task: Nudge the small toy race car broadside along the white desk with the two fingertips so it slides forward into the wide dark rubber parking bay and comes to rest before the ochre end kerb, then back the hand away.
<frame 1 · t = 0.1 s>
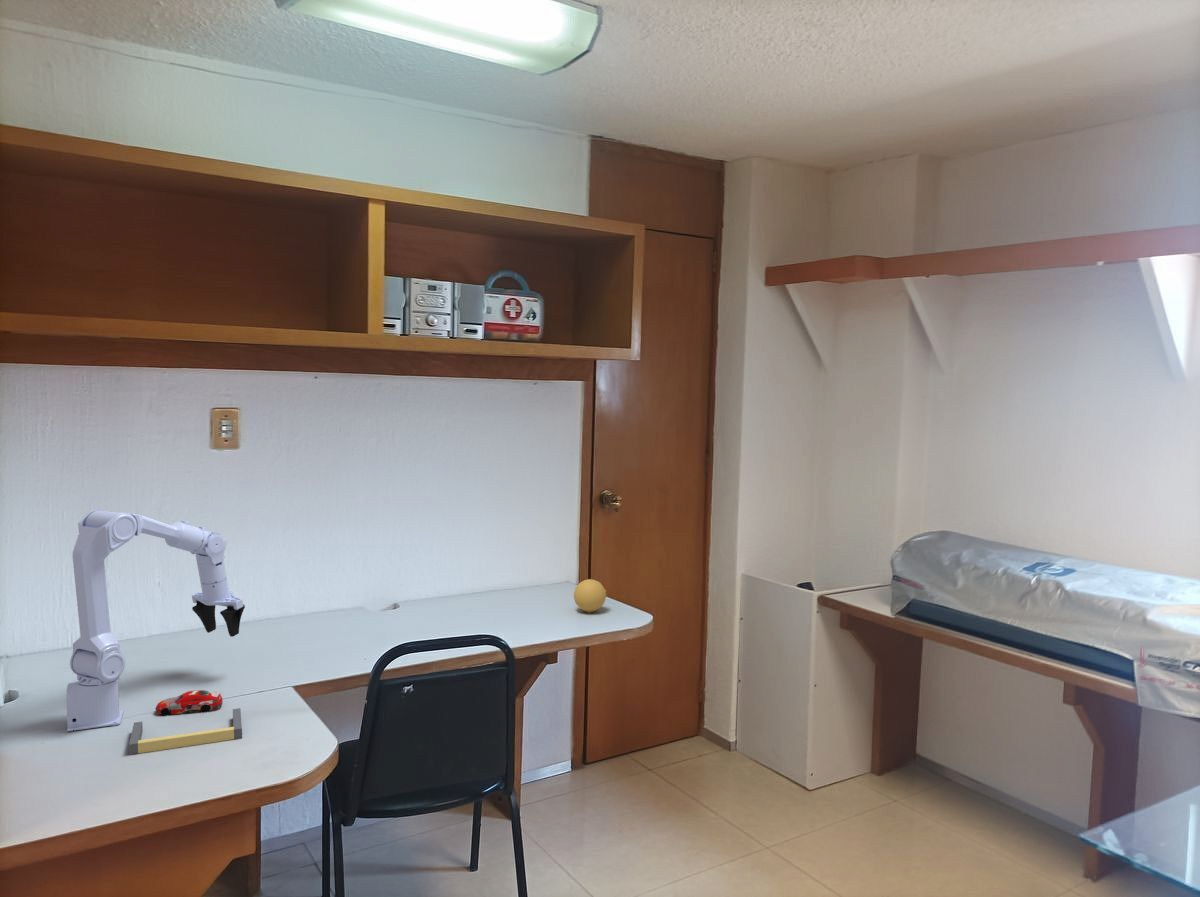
hand: (222, 632, 211), 10 cm above the table, tool pointing down, fingers open, 7 cm apart
race car: (189, 711, 191), on the table
stress ball: (590, 612, 271), on the table
parking bay: (187, 735, 177), on the table
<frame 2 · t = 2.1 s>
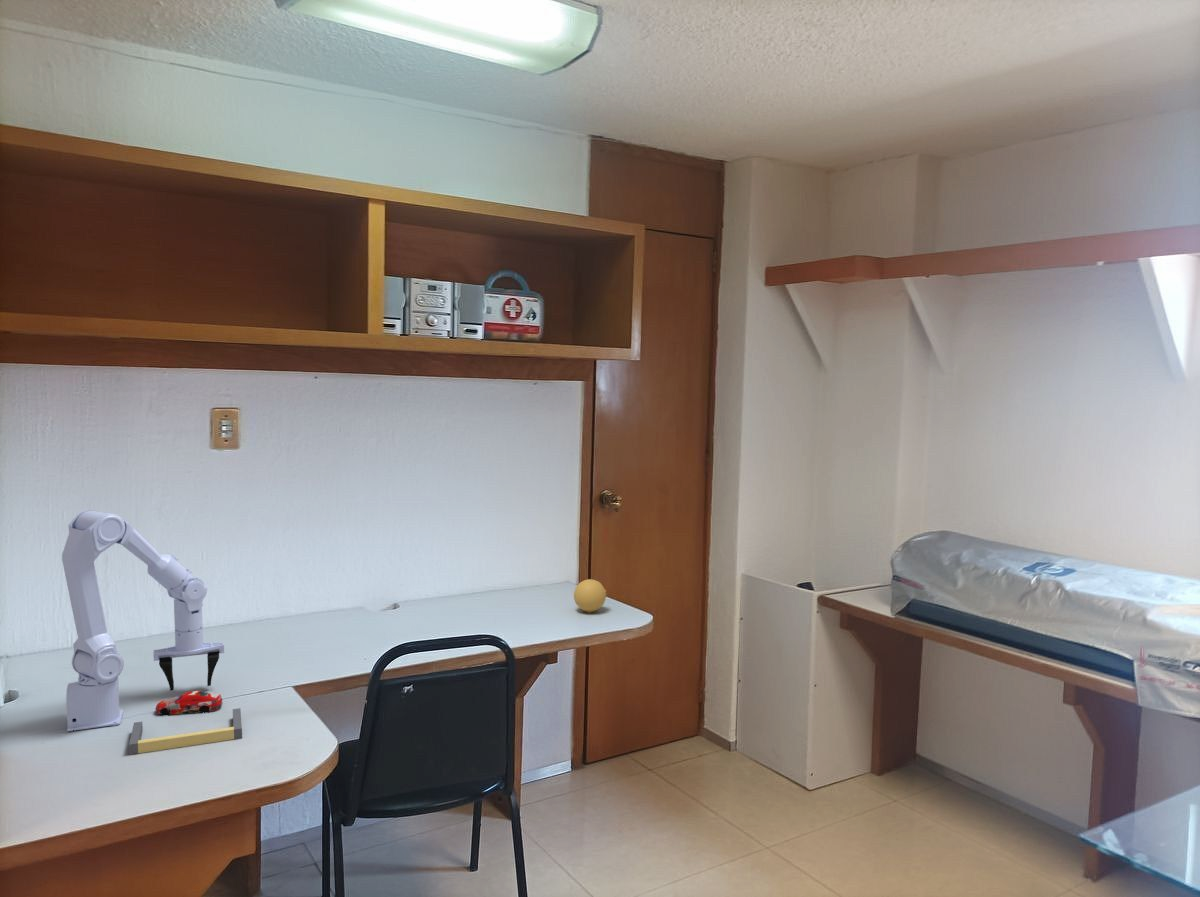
hand: (190, 686, 200), 1 cm above the table, tool pointing down, fingers open, 7 cm apart
nothing on the table moved.
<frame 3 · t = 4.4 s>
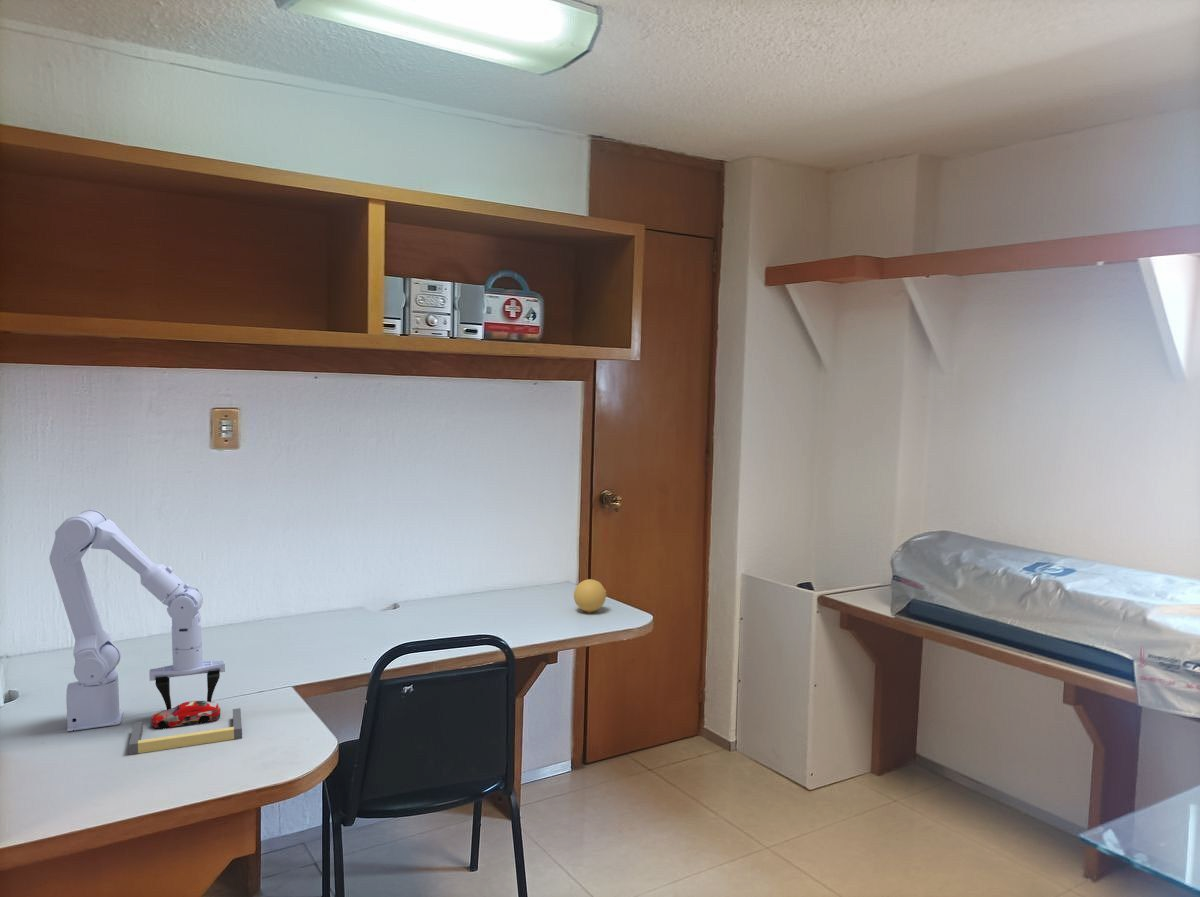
hand: (189, 708, 188), 1 cm above the table, tool pointing down, fingers open, 7 cm apart
race car: (186, 723, 184), on the table
everything else where it was.
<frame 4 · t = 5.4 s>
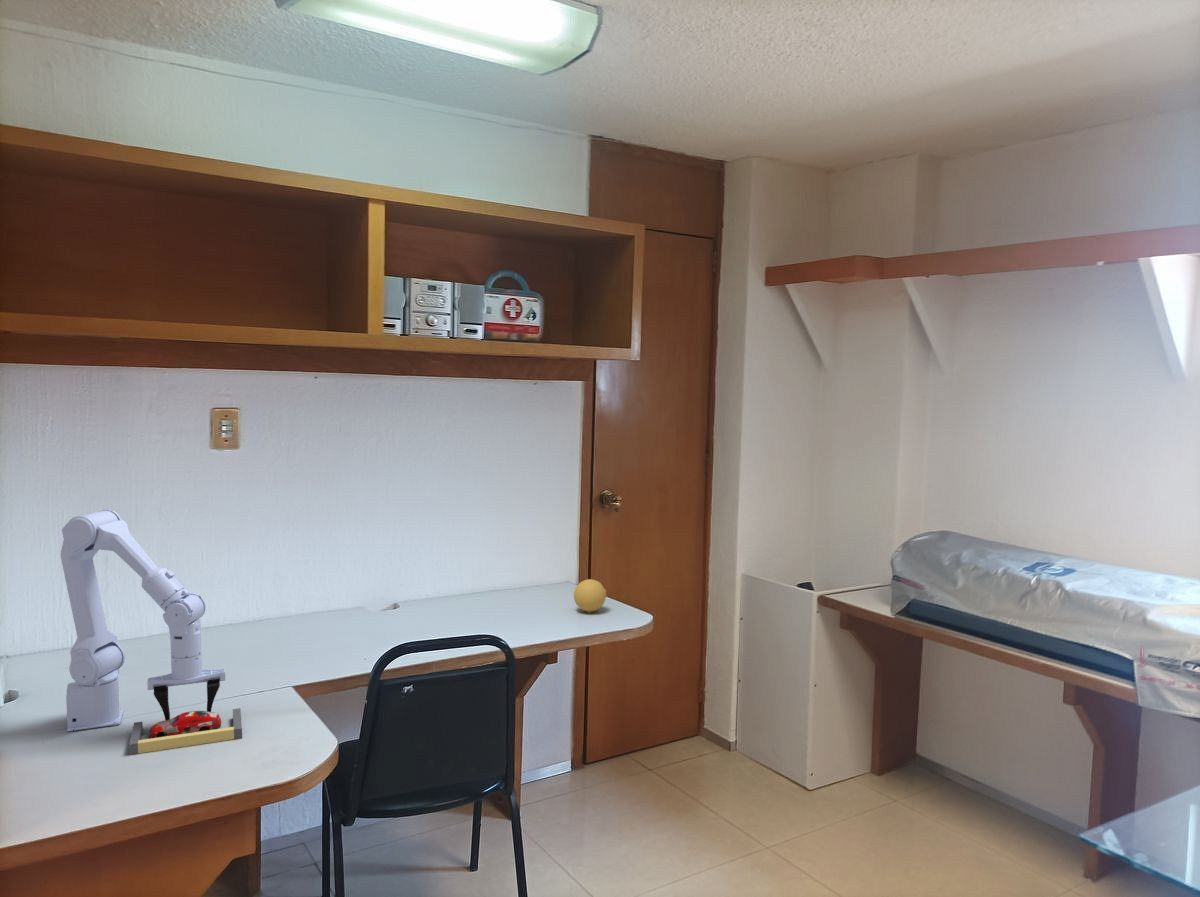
hand: (188, 718, 182), 1 cm above the table, tool pointing down, fingers open, 7 cm apart
race car: (186, 734, 179), on the table
everything else where it was.
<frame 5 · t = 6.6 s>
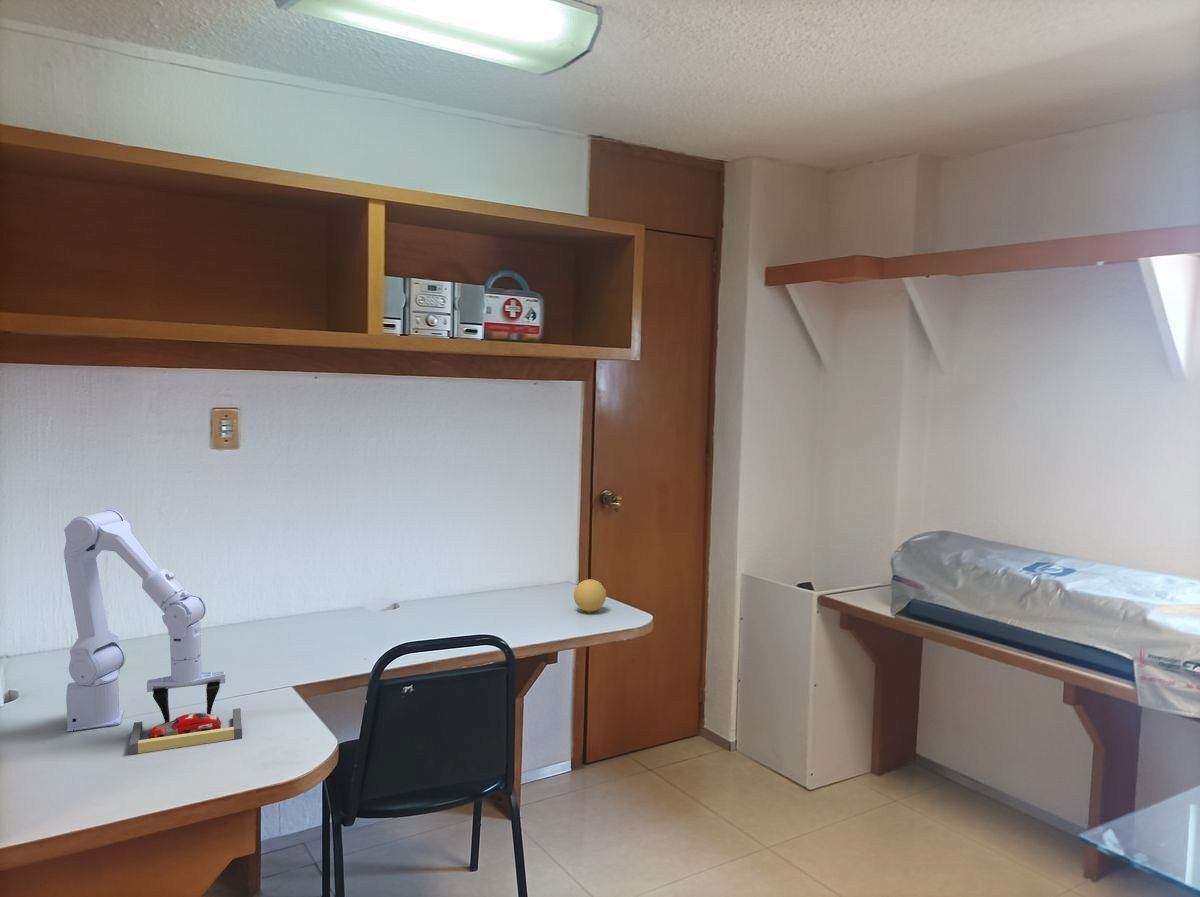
hand: (188, 720, 181), 1 cm above the table, tool pointing down, fingers open, 7 cm apart
race car: (185, 736, 177), on the table
everything else where it was.
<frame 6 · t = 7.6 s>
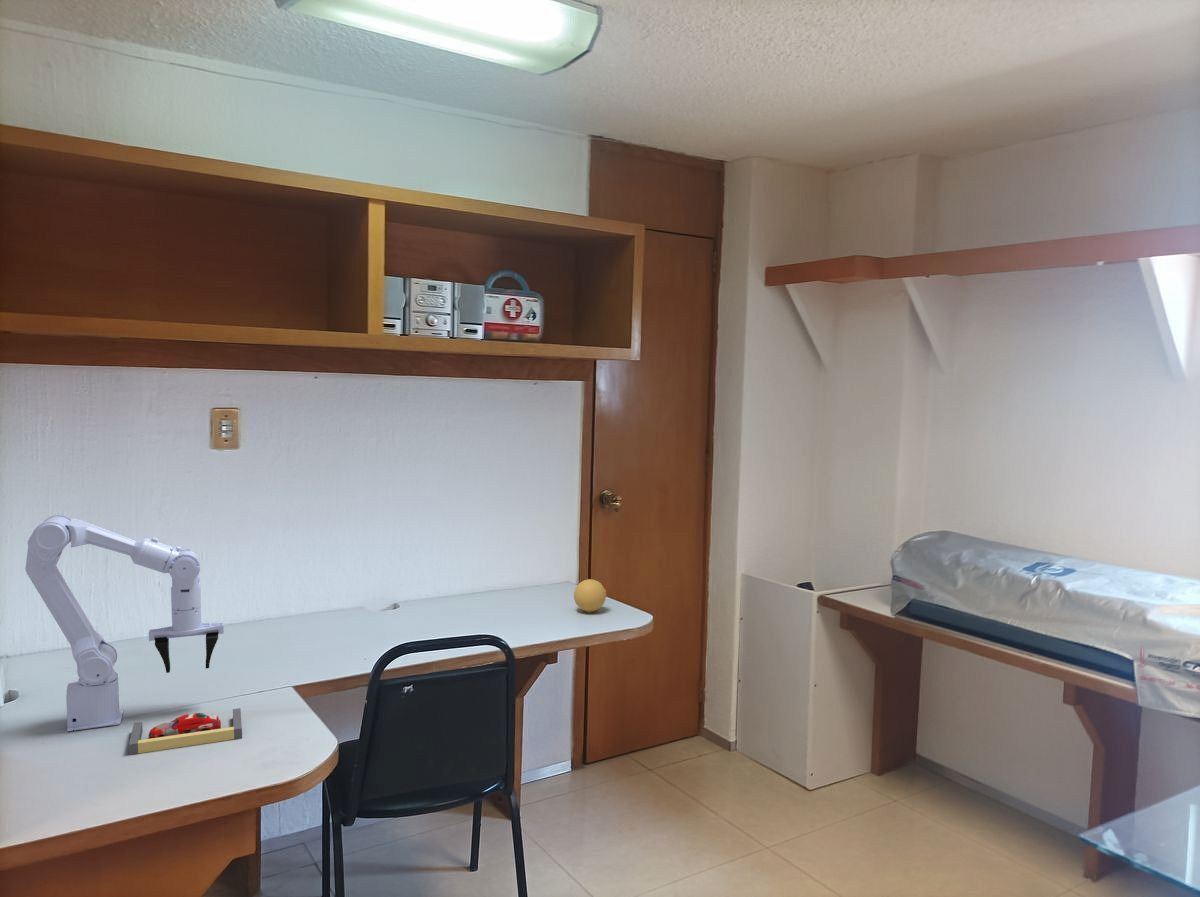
hand: (188, 669, 190), 9 cm above the table, tool pointing down, fingers open, 7 cm apart
nothing on the table moved.
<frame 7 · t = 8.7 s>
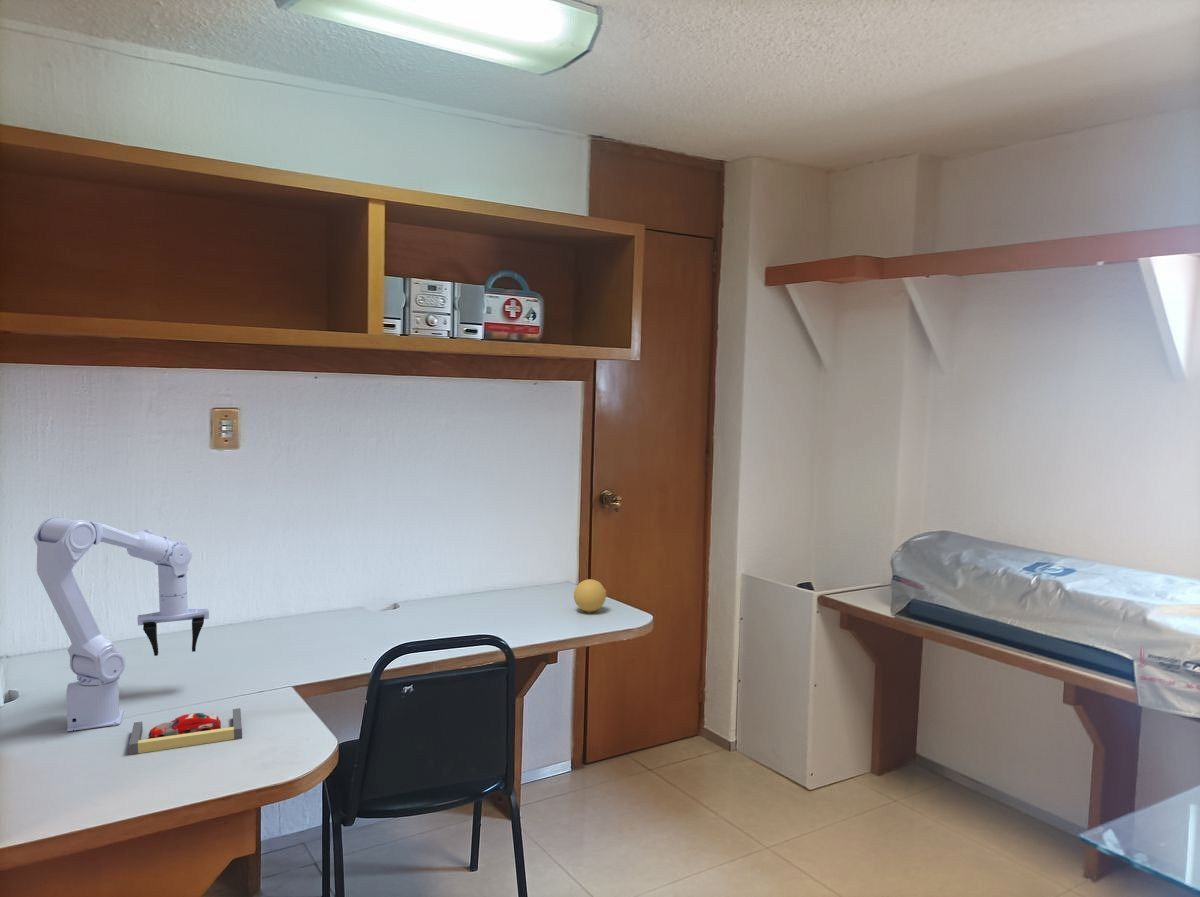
hand: (175, 652, 200), 9 cm above the table, tool pointing down, fingers open, 7 cm apart
nothing on the table moved.
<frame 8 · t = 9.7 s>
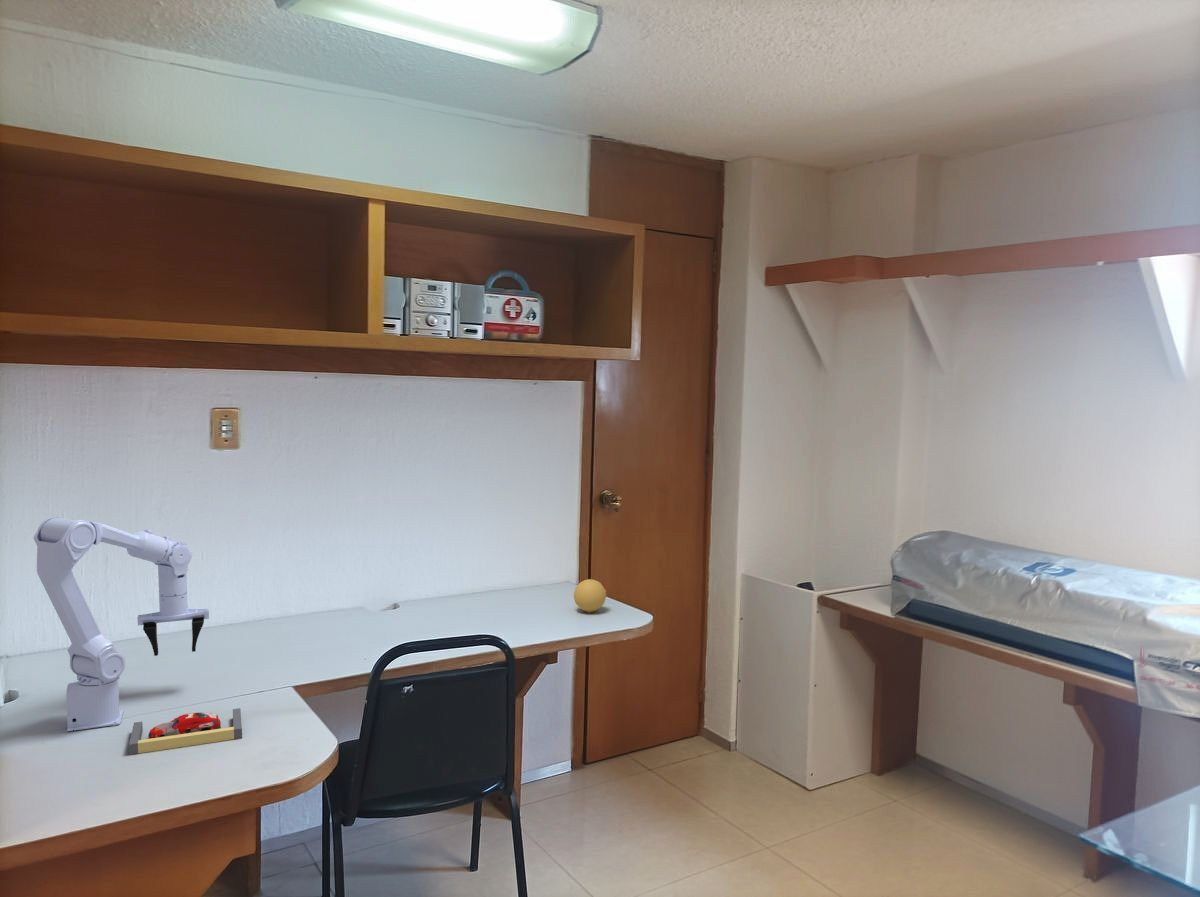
hand: (175, 652, 200), 9 cm above the table, tool pointing down, fingers open, 7 cm apart
nothing on the table moved.
at the end: race car inside the target area (0.6 cm from its centre), on the table; race car moved 14.1 cm from its start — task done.
